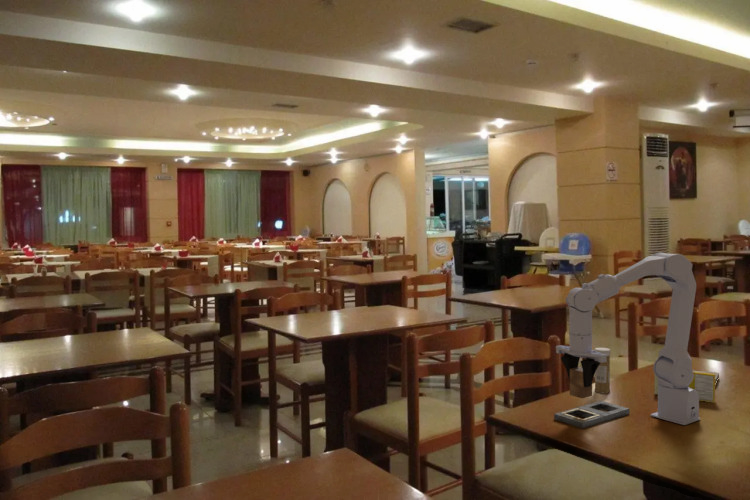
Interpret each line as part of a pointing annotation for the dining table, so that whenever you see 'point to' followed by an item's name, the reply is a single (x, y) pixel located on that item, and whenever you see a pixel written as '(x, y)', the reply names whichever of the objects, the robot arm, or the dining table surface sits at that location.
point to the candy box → (699, 386)
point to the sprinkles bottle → (603, 373)
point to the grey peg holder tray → (591, 414)
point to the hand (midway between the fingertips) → (580, 384)
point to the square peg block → (578, 384)
